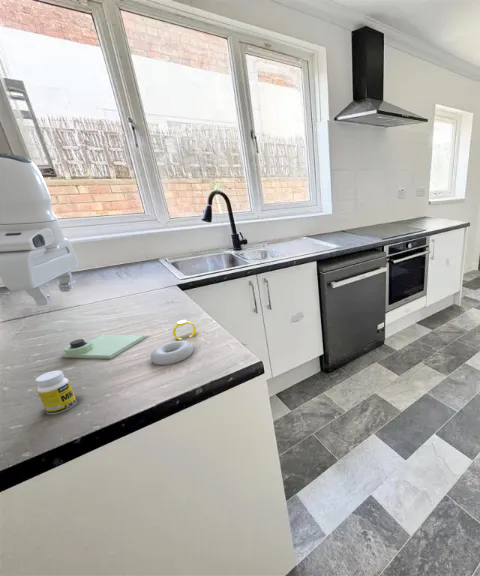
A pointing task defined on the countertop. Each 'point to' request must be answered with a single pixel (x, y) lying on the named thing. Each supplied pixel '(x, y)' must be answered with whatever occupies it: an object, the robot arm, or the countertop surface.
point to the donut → (171, 352)
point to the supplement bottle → (55, 392)
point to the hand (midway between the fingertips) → (56, 297)
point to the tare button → (77, 343)
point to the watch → (184, 324)
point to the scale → (103, 346)
